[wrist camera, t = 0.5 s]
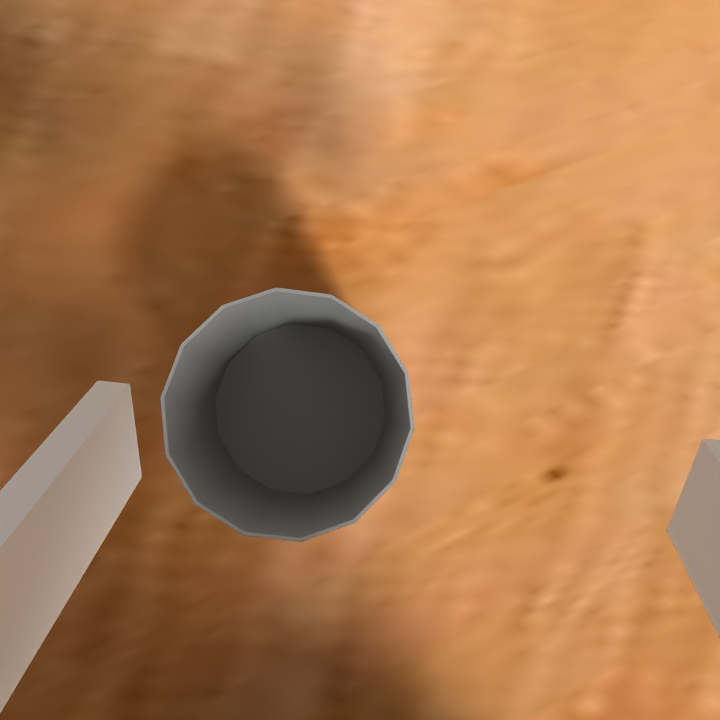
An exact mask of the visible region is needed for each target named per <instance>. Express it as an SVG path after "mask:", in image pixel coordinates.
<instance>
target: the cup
mask: <svg viewBox="0 0 720 720" xmlns="http://www.w3.org/2000/svg"><path fill="white" fill-rule="evenodd" d="M160 400H161V412H162V423H163V435H164V447H165V456H166V457H167V459H168V461H169V462H170V464H171V466H172V467H173V469H174V470H175V472H176V474H177V475H178V477H179V479H180V480H181V482H182V484H183V485H184V487H185V489H186V490H187V492H188V494H189V495H190V497H191V499H192V500H193V502H194V504H195V505H197V506H198V507H200V508H201V509H203V510H204V511H206V512H208V513H209V514H211V515H212V516H214V517H215V518H217V519H219V520H220V521H222V522H223V523H225V524H226V525H228V526H230V527H231V528H233V529H234V530H236V531H237V532H239V533H241V534H242V535H244V536H253V537H262V538H271V539H280V540H289V541H298V542H302V541H305V540H308V539H310V538H313V537H316V536H319V535H322V534H324V533H327V532H330V531H333V530H336V529H339V528H341V527H344V526H347V525H350V524H353V523H355V522H356V521H357V520H358V519H359V518H360V517H361V516H362V515H363V514H364V513H365V512H366V511H367V510H368V509H369V508H370V507H371V506H372V505H373V504H374V503H375V502H376V501H377V500H378V499H379V498H380V497H381V496H382V495H383V494H384V493H385V492H386V491H387V490H388V489H389V488H390V487H391V486H392V485H393V484H394V483H395V482H396V479H397V476H398V474H399V471H400V468H401V465H402V462H403V459H404V456H405V454H406V451H407V448H408V445H409V442H410V439H411V436H412V434H413V431H414V421H413V411H412V402H411V393H410V384H409V374H408V371H407V370H406V368H405V366H404V365H403V363H402V361H401V360H400V358H399V357H398V355H397V353H396V352H395V350H394V348H393V347H392V345H391V344H390V342H389V340H388V339H387V337H386V336H385V334H384V332H383V331H382V329H381V327H380V326H379V325H378V324H377V323H375V322H374V321H372V320H371V319H369V318H367V317H366V316H364V315H363V314H361V313H360V312H358V311H357V310H355V309H354V308H352V307H350V306H349V305H347V304H346V303H344V302H343V301H341V300H340V299H338V298H336V297H335V296H333V295H331V294H323V293H316V292H308V291H300V290H292V289H285V288H277V287H276V288H273V289H270V290H267V291H264V292H261V293H258V294H254V295H251V296H248V297H245V298H242V299H239V300H236V301H233V302H230V303H227V304H224V305H222V306H221V307H220V308H219V309H218V310H216V311H215V312H214V313H213V314H212V315H211V316H210V317H209V318H208V319H207V320H206V321H205V322H204V323H203V324H202V325H201V326H200V327H199V328H197V329H196V330H195V331H194V332H193V333H192V334H191V335H190V336H189V337H188V338H187V339H186V340H185V341H184V342H183V343H182V344H181V345H180V348H179V350H178V353H177V356H176V358H175V361H174V363H173V366H172V369H171V371H170V374H169V376H168V379H167V382H166V384H165V387H164V389H163V392H162V395H161V397H160Z"/></svg>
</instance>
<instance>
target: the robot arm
mask: <svg viewBox="0 0 720 720" xmlns="http://www.w3.org/2000/svg"><path fill="white" fill-rule="evenodd" d="M141 478H142V473H141V466H140V458H139V450H138V442H137V435H136V427H135V419H134V411H133V404H132V396H131V388H130V384H128V383H118V382H107V381H97V382H96V383H95V384H94V385H93V386H92V388H91V389H90V390H89V391H88V392H87V393H86V394H85V395H84V397H83V398H82V399H81V400H80V401H79V402H78V403H77V404H76V406H75V407H74V408H73V409H72V410H71V411H70V412H69V414H68V415H67V416H66V417H65V418H64V419H63V420H62V421H61V423H60V424H59V425H58V426H57V427H56V428H55V429H54V430H53V432H52V433H51V434H50V435H49V436H48V437H47V438H46V440H45V441H44V442H43V443H42V444H41V445H40V446H39V447H38V449H37V450H36V451H35V452H34V453H33V454H32V455H31V456H30V458H29V459H28V460H27V461H26V462H25V463H24V464H23V466H22V467H21V468H20V469H19V470H18V471H17V472H16V473H15V475H14V476H13V477H12V478H11V479H10V480H9V481H8V482H7V484H6V485H5V486H4V487H3V488H2V489H1V490H0V713H1V711H2V710H3V708H4V706H5V705H6V703H7V701H8V700H9V698H10V696H11V695H12V693H13V691H14V690H15V688H16V686H17V685H18V683H19V681H20V680H21V678H22V676H23V675H24V673H25V671H26V670H27V668H28V666H29V665H30V663H31V661H32V660H33V658H34V656H35V655H36V653H37V651H38V650H39V648H40V646H41V645H42V643H43V641H44V640H45V638H46V636H47V635H48V633H49V631H50V630H51V628H52V626H53V625H54V623H55V621H56V620H57V618H58V616H59V615H60V613H61V611H62V610H63V608H64V606H65V605H66V603H67V601H68V599H69V598H70V596H71V594H72V593H73V591H74V589H75V588H76V586H77V584H78V583H79V581H80V579H81V578H82V576H83V574H84V573H85V571H86V569H87V568H88V566H89V564H90V563H91V561H92V559H93V558H94V556H95V554H96V553H97V551H98V549H99V548H100V546H101V544H102V543H103V541H104V539H105V538H106V536H107V534H108V533H109V531H110V529H111V528H112V526H113V524H114V523H115V521H116V519H117V518H118V516H119V514H120V513H121V511H122V509H123V508H124V506H125V504H126V503H127V501H128V499H129V498H130V496H131V494H132V493H133V491H134V489H135V488H136V486H137V484H138V483H139V481H140V479H141ZM667 532H668V534H669V536H670V538H671V540H672V542H673V545H674V547H675V549H676V551H677V553H678V555H679V557H680V559H681V561H682V563H683V565H684V567H685V569H686V571H687V573H688V575H689V577H690V579H691V581H692V583H693V585H694V587H695V589H696V591H697V593H698V595H699V597H700V599H701V601H702V603H703V605H704V607H705V609H706V611H707V613H708V615H709V617H710V619H711V621H712V623H713V625H714V627H715V629H716V631H717V634H718V636H719V638H720V440H712V439H703V440H702V442H701V445H700V447H699V450H698V452H697V455H696V457H695V460H694V462H693V465H692V467H691V470H690V472H689V475H688V477H687V480H686V482H685V485H684V487H683V490H682V492H681V495H680V497H679V500H678V502H677V505H676V507H675V510H674V513H673V515H672V518H671V520H670V523H669V525H668V528H667Z"/></svg>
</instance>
